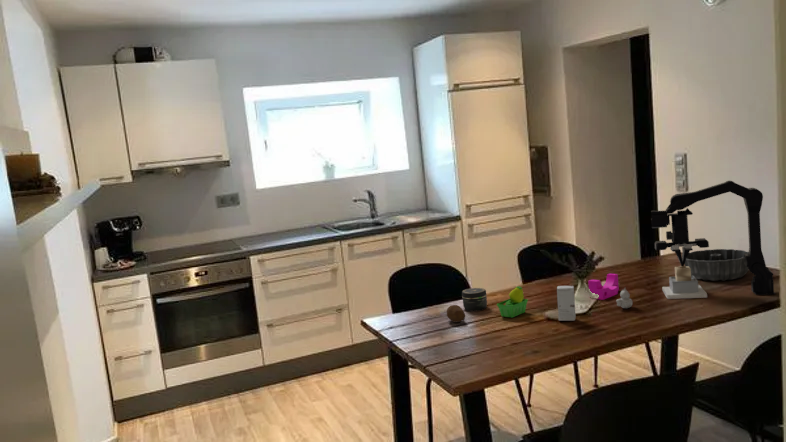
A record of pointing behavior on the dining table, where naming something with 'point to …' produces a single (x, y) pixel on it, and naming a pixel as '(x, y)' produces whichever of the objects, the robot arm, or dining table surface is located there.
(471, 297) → the jar
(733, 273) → the bundt pan
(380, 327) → the dining table surface
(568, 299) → the skincare box
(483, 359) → the dining table surface
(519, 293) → the fruit basket
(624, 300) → the rubber duck
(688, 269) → the snap block
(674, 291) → the grey square base plate
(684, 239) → the robot arm
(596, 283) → the toy block
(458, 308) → the potato
